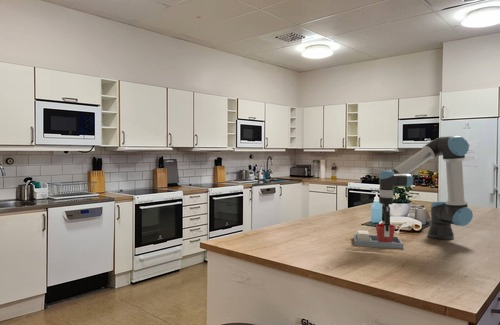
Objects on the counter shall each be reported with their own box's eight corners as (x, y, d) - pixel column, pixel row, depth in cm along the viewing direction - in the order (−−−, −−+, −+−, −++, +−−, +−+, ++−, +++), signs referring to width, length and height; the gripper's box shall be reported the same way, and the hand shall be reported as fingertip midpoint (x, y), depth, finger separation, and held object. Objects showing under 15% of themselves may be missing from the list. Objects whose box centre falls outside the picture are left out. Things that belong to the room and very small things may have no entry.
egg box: (357, 239, 223) (357, 230, 223) (367, 240, 222) (367, 230, 221) (358, 243, 213) (358, 233, 213) (368, 244, 212) (369, 234, 212)
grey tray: (353, 239, 227) (353, 233, 227) (398, 242, 221) (398, 236, 221) (354, 246, 210) (354, 240, 210) (403, 250, 204) (403, 243, 204)
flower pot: (399, 243, 212) (399, 226, 211) (384, 244, 208) (384, 227, 207) (386, 239, 221) (386, 223, 221) (371, 240, 217) (371, 224, 217)
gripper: (377, 194, 226) (376, 230, 226) (381, 199, 203) (380, 238, 204) (390, 195, 224) (389, 230, 225) (396, 199, 202) (395, 239, 202)
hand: (385, 234), depth 214 cm, fingers closed on flower pot, 11 cm apart
